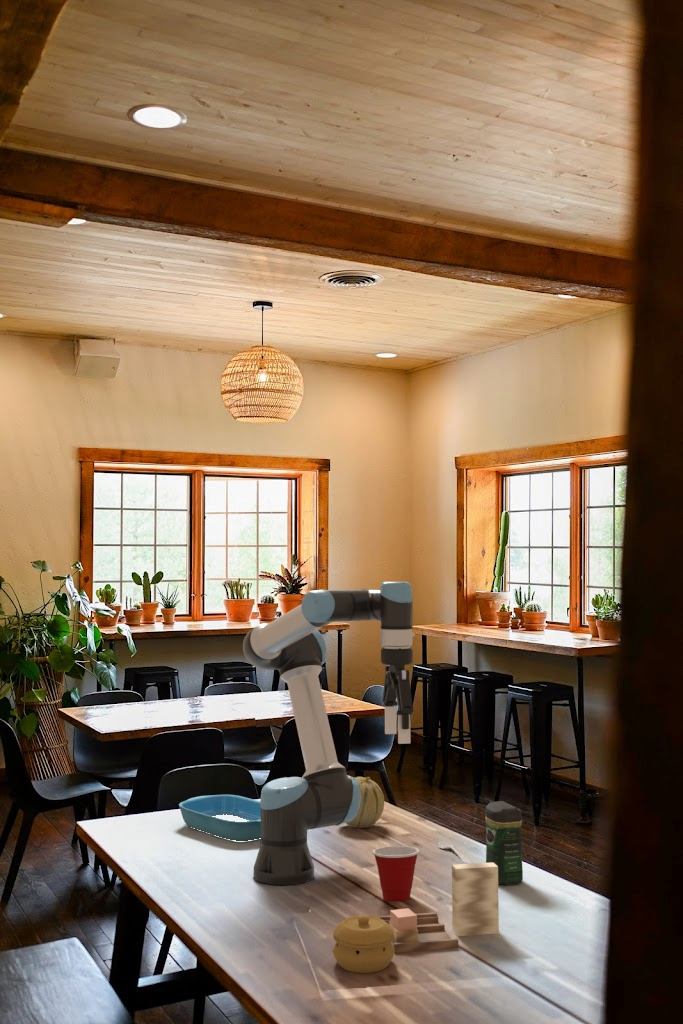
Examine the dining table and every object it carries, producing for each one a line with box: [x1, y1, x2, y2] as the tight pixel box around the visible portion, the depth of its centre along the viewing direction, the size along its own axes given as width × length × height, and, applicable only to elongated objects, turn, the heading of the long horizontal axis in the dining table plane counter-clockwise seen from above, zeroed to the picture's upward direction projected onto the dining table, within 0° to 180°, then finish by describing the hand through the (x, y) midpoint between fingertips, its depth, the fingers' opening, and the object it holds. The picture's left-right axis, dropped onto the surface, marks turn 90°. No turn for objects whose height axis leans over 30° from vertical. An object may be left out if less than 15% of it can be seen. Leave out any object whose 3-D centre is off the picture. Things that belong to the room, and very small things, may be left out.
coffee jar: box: [484, 800, 524, 886], centre depth 240 cm, size 10×8×19 cm
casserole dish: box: [178, 794, 261, 841], centre depth 287 cm, size 37×22×7 cm, turn 45°
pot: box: [332, 914, 395, 974], centre depth 185 cm, size 12×12×10 cm
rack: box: [376, 912, 459, 954], centre depth 199 cm, size 13×16×3 cm
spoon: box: [437, 840, 472, 864], centre depth 261 cm, size 4×21×2 cm, turn 18°
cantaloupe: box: [345, 776, 385, 829], centre depth 290 cm, size 15×15×15 cm
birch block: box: [451, 862, 500, 937], centre depth 201 cm, size 9×3×14 cm, turn 100°
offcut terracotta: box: [389, 908, 417, 931], centre depth 196 cm, size 4×4×2 cm
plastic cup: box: [372, 845, 420, 903], centre depth 223 cm, size 11×11×12 cm
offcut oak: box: [389, 921, 418, 943], centre depth 196 cm, size 4×6×3 cm
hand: (397, 738), depth 227 cm, fingers open, 13 cm apart
